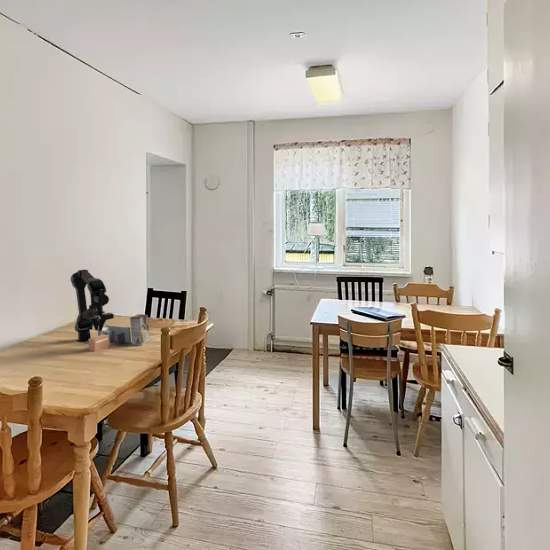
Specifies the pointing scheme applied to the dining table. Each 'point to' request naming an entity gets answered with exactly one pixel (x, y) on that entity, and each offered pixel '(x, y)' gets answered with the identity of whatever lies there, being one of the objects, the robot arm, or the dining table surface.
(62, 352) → the dining table surface
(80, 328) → the robot arm
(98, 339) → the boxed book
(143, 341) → the coffee box
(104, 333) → the shelf
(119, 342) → the bookend
